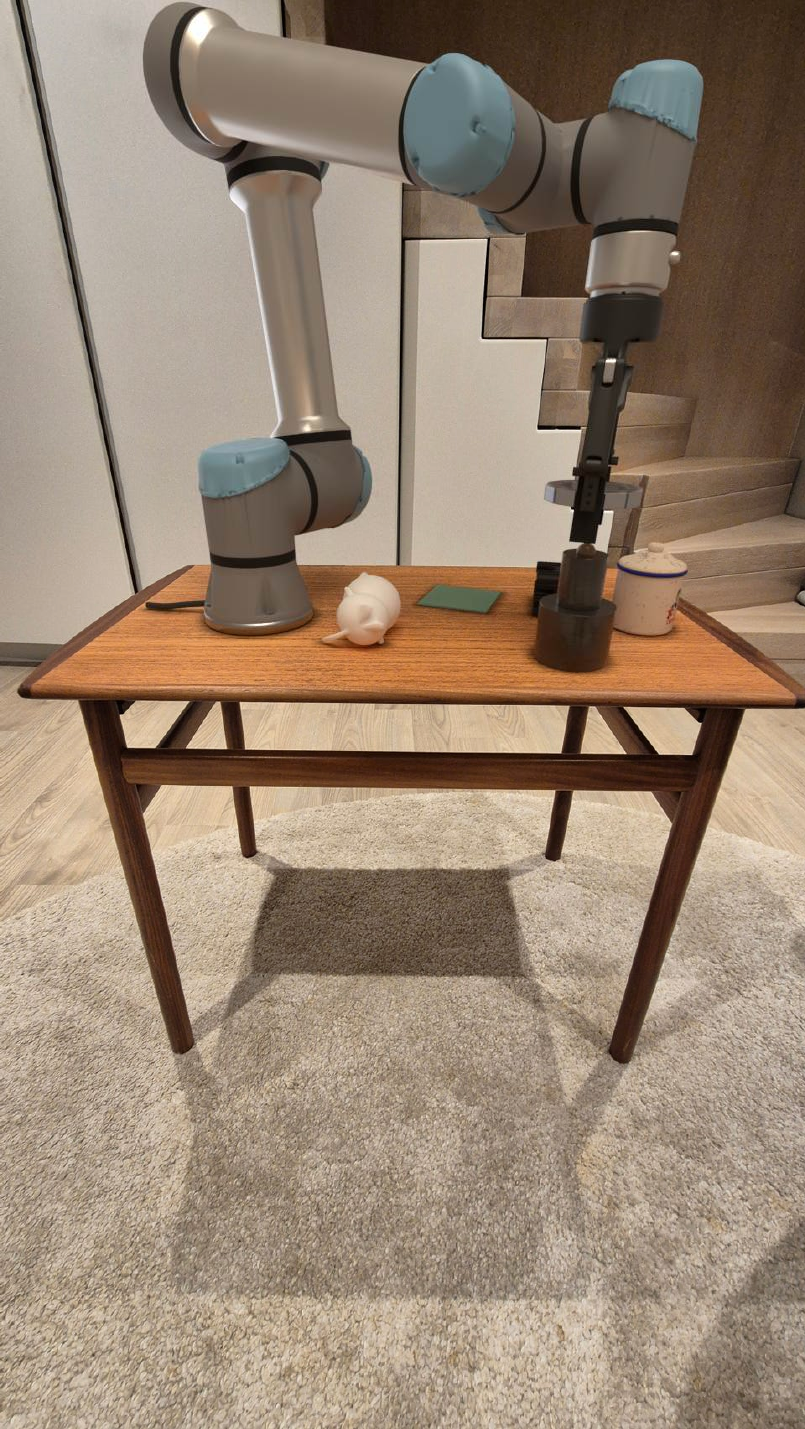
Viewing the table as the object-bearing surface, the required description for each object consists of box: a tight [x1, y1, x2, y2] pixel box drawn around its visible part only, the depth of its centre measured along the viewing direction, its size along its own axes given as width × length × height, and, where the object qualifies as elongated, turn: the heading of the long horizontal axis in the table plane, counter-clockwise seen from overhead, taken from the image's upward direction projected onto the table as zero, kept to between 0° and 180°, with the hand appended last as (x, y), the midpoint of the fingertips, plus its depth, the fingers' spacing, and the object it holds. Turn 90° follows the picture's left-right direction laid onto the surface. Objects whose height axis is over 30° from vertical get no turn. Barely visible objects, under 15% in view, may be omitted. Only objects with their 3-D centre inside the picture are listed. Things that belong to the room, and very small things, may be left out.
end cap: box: [531, 560, 561, 618], centre depth 91 cm, size 10×7×7 cm
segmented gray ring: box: [543, 479, 644, 511], centre depth 66 cm, size 10×10×2 cm
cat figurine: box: [321, 571, 402, 646], centre depth 79 cm, size 9×11×12 cm
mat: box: [416, 584, 502, 614], centre depth 96 cm, size 11×11×1 cm
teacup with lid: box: [611, 541, 689, 637], centre depth 84 cm, size 12×9×12 cm
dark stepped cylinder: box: [532, 543, 617, 673], centre depth 72 cm, size 9×9×14 cm
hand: (586, 532), depth 68 cm, fingers closed on segmented gray ring, 10 cm apart
